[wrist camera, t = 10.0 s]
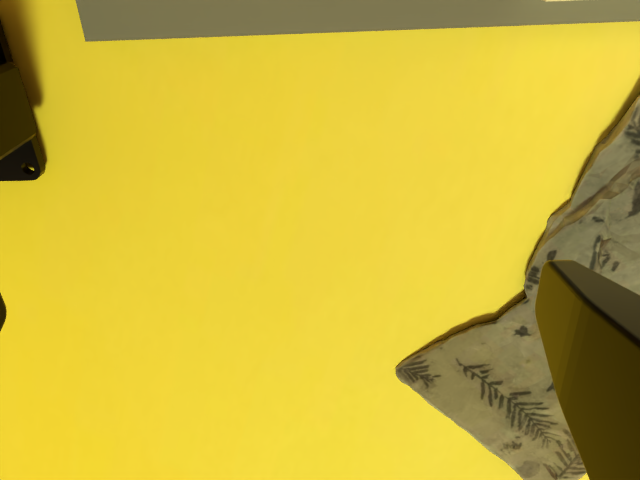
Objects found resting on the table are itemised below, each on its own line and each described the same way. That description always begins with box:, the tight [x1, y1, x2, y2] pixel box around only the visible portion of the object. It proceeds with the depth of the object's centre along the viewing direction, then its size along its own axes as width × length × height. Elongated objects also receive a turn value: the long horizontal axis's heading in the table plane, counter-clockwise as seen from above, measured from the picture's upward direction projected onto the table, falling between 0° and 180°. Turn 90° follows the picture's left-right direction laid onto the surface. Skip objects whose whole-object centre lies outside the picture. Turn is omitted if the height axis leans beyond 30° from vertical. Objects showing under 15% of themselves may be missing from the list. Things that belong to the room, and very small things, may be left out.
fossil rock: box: [396, 95, 640, 480], centre depth 24 cm, size 18×15×2 cm
